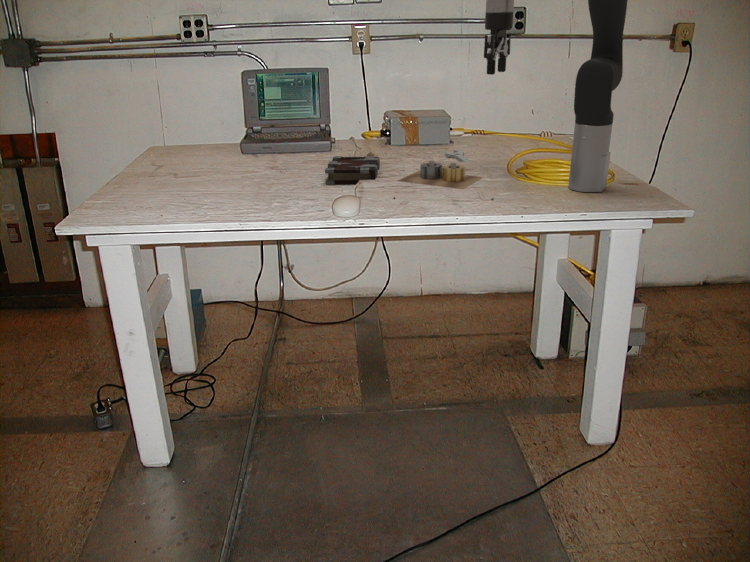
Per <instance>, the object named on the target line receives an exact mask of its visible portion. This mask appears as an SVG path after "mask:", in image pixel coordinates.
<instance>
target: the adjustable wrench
mask: <svg viewBox="0 0 750 562" xmlns="http://www.w3.org/2000/svg"><path fill="white" fill-rule="evenodd" d="M445 157H446V158H447V159H454V160H457V161H458V162H461V163H471V162H474V161H472V160H471V159H469V158H468V157H466V156H465V151H464V150H459V149H453V152H452V151H448V150H446V151H445Z"/></svg>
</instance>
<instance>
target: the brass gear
mask: <svg viewBox="0 0 750 562" xmlns="http://www.w3.org/2000/svg"><path fill="white" fill-rule="evenodd" d="M465 175H466V166H465V165H461V164H456V168H451V164H448V165H443V181H448V182H459V181H464V180H465Z"/></svg>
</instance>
